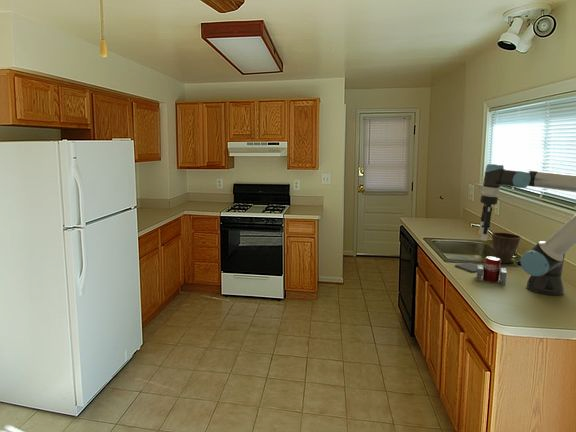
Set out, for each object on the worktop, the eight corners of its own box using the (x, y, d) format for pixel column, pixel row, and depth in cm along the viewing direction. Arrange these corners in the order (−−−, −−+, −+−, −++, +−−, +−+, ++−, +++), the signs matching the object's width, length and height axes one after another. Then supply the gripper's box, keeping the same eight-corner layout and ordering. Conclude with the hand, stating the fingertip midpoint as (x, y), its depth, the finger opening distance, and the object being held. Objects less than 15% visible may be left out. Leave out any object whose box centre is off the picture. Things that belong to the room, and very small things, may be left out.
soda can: (484, 277, 214) (486, 255, 212) (499, 280, 210) (502, 258, 208) (481, 281, 208) (483, 258, 206) (497, 284, 204) (499, 261, 202)
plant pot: (508, 257, 253) (511, 232, 250) (522, 265, 239) (526, 238, 236) (484, 257, 253) (487, 232, 250) (497, 264, 238) (500, 237, 235)
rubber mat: (487, 270, 226) (488, 268, 226) (472, 272, 221) (472, 271, 221) (470, 264, 237) (470, 262, 237) (454, 266, 232) (455, 264, 232)
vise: (505, 285, 203) (506, 272, 201) (476, 281, 208) (477, 268, 207) (504, 280, 210) (505, 268, 209) (476, 276, 215) (478, 264, 214)
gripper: (479, 191, 213) (473, 230, 218) (483, 198, 190) (475, 241, 195) (495, 192, 211) (488, 232, 215) (501, 200, 188) (493, 244, 193)
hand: (482, 237), depth 205 cm, fingers open, 13 cm apart
